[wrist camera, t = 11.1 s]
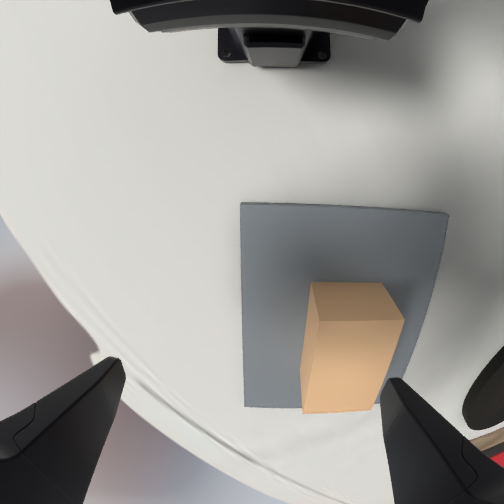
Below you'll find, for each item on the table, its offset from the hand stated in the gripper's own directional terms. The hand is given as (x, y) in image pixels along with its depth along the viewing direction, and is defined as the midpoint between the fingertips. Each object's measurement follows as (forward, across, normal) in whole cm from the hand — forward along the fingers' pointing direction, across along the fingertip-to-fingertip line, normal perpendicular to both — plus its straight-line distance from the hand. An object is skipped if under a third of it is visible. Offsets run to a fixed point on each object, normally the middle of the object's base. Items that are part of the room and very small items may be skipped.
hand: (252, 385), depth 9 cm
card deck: (+11, -6, +6) cm, 13 cm away
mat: (+11, -6, +6) cm, 14 cm away
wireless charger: (+12, -33, +15) cm, 38 cm away
